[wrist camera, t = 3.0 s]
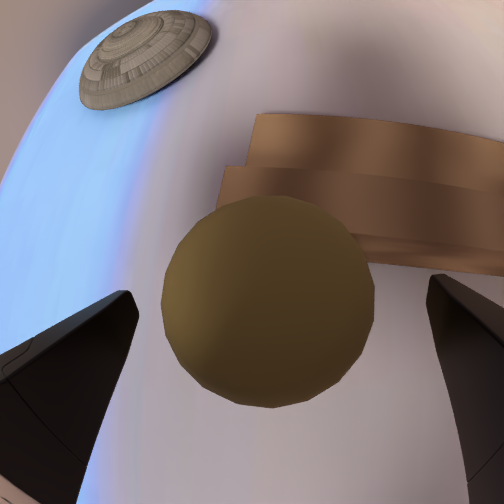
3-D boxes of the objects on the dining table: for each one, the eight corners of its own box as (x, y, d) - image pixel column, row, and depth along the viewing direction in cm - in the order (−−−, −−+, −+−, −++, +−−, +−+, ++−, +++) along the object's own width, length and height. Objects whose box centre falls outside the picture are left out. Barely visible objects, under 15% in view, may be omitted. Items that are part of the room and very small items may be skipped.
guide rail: (209, 387, 16) (167, 396, 12) (260, 125, 21) (243, 72, 16) (555, 404, 11) (602, 409, 6) (543, 165, 15) (573, 128, 11)
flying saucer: (149, 133, 24) (115, 89, 19) (65, 108, 29) (38, 80, 24) (244, 28, 26) (230, -15, 21) (146, 24, 31) (129, -6, 26)
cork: (377, 331, 15) (464, 290, 5) (289, 408, 15) (232, 493, 5) (301, 251, 18) (268, 114, 7) (218, 323, 17) (84, 275, 7)
